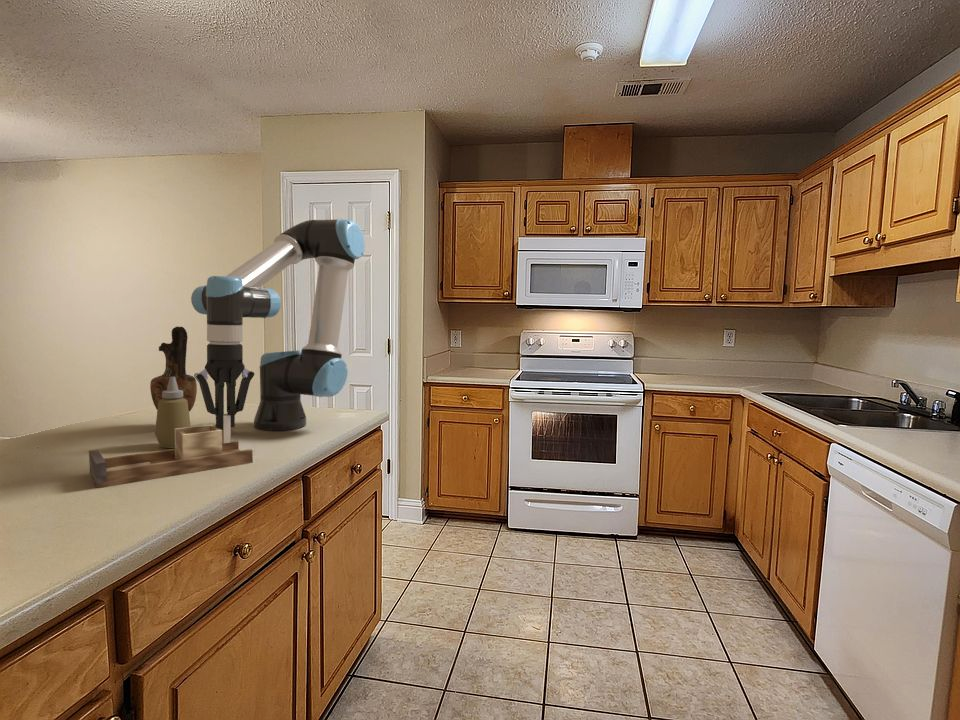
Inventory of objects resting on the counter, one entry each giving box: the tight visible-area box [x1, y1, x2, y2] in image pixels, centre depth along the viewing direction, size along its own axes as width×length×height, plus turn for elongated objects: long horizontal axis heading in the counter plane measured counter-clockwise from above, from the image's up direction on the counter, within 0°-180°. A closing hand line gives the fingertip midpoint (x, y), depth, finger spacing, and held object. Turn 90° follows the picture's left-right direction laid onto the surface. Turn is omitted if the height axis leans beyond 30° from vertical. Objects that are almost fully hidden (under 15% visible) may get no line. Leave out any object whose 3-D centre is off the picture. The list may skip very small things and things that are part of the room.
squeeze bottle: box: [154, 377, 192, 449], centre depth 134 cm, size 8×8×18 cm
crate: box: [174, 424, 222, 460], centre depth 120 cm, size 8×7×7 cm
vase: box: [149, 326, 198, 413], centre depth 152 cm, size 12×12×30 cm
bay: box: [88, 440, 254, 489], centre depth 117 cm, size 30×11×5 cm, turn 133°
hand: (225, 441), depth 124 cm, fingers closed
